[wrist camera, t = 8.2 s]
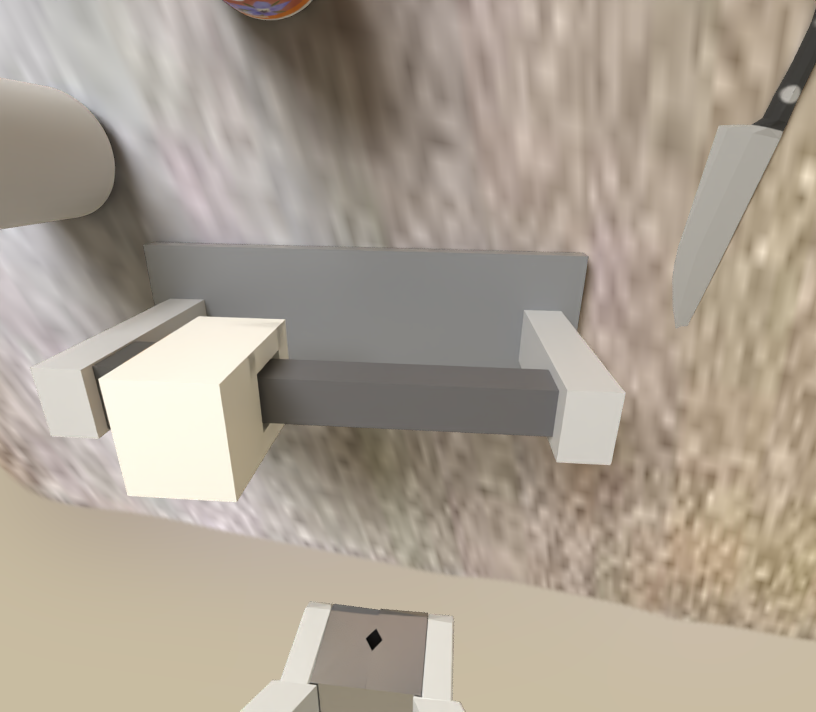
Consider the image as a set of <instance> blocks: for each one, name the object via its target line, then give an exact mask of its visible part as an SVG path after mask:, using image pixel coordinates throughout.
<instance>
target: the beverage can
mask: <svg viewBox="0 0 816 712" xmlns="http://www.w3.org/2000/svg"><path fill="white" fill-rule="evenodd" d="M114 178H115V161H114V155H113V151H112V148H111V145H110V142H109V140H108V137H107V135H106V133H105V131H104V129H103V128H102V126H101V125H100V123H99V122H98V120H97V119H96V118H95V116H94V115H93V114H92V113H91V112H90V111H89V110H88V109H87V108H86V107H85V106H84V105H83V104H82V103H80V102H79V101H78V100H76V99H75V98H73V97H72V96H70V95H69V94H67V93H65V92H63V91H60V90H58V89H55V88H52V87H48V86H43V85H37V84H32V83H27V82H21V81H16V80H11V79H5V78H0V229H6V228H13V227H19V226H26V225H32V224H39V223H45V222H51V221H58V220H64V219H71V218H77V217H82V216H86V215H88V214H91V213H93V212H94V211H96V210H97V209H99V208H100V207H101V206H102V205H103V204H104V203H105V201H106V200H107V198H108V197H109V195H110V193H111V190H112V188H113V184H114Z"/></svg>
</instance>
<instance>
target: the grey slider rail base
mask: <svg viewBox="0 0 816 712" xmlns="http://www.w3.org/2000/svg"><path fill="white" fill-rule="evenodd" d="M143 247H144V252H145V258H146V263H147V268H148V273H149V278H150V284H151V289H152V294H153V299H154V304H155V306H154V307H152V308H150V309H148V310H146V311H144V312H142V313H140V314H138V315H136V316H134V317H132V318H130V319H128V320H126V321H124V322H122V323H120V324H118V325H116V326H114V327H112V328H110V329H108V330H106V331H104V332H101V333H99V334H97V335H95V336H93V337H91V338H89V339H87V340H85V341H83V342H81V343H79V344H77V345H75V346H73V347H71V348H69V349H67V350H65V351H63V352H61V353H59V354H57V355H55V356H53V357H51V358H49V359H47V360H45V361H43V362H41V363H39V364H37V365H35V366H33V367H31V368H30V370H31V373H32V376H33V380H34V383H35V386H36V389H37V392H38V396H39V399H40V402H41V405H42V409H43V412H44V415H45V418H46V421H47V425H48V428H49V431H50V434H51V436H54V437H73V438H93V439H99V438H100V437H102V436H103V435H104V434H105V433H107V432H108V431H109V430H110V429H111V428H110V424H109V420H108V416H107V412H106V408H105V404H104V400H103V396H102V392H101V388H100V384H99V380H98V379H99V378H101V377H102V376H104V375H106V374H107V373H109V372H110V371H112V370H114V369H115V368H117V367H118V366H120V365H122V364H123V363H125V362H126V361H128V360H130V359H131V358H133V357H134V356H136V355H138V354H139V353H141V352H142V351H144V350H146V349H147V348H149V347H150V346H152V345H154V344H155V343H157V342H158V341H160V340H162V339H163V338H165V337H166V336H168V335H170V334H171V333H173V332H174V331H176V330H178V329H179V328H181V327H182V326H184V325H186V324H187V323H189V322H190V321H192V320H194V319H195V318H197V317H198V316H203V317H232V318H261V319H285V323H286V334H287V346H288V357H289V359H270V360H269V361H268V362H267V363H266V365H265V366H264V367H263V368H262V369H261V370H260V371H259V372H258V374H257V381H258V389H259V398H260V406H261V415H262V423H277V424H298V425H319V426H339V427H360V428H381V429H402V430H422V431H443V432H464V433H485V434H506V435H526V436H547V438H548V441H549V444H550V446H551V449H552V452H553V454H554V457H555V460H556V462H560V463H580V464H599V465H611V462H612V457H613V452H614V447H615V442H616V437H617V432H618V428H619V423H620V418H621V413H622V408H623V403H624V398H625V394H626V393H625V392H624V391H623V389H622V388H621V387H620V385H619V384H618V383H617V382H616V380H615V379H614V378H613V377H612V375H611V374H610V373H609V371H608V370H607V369H606V368H605V366H604V365H603V364H602V362H601V361H600V360H599V359H598V357H597V356H596V355H595V354H594V352H593V351H592V350H591V348H590V347H589V346H588V345H587V343H586V342H585V341H584V340H583V338H582V337H581V336H580V334H579V333H578V332H577V328H578V321H579V315H580V308H581V302H582V295H583V289H584V282H585V276H586V269H587V263H588V256H587V255H586V254H584V253H570V252H530V251H490V250H450V249H410V248H370V247H330V246H290V245H250V244H210V243H170V242H152V243H148V244H144V245H143Z"/></svg>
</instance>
